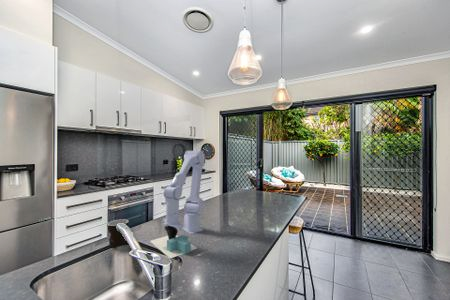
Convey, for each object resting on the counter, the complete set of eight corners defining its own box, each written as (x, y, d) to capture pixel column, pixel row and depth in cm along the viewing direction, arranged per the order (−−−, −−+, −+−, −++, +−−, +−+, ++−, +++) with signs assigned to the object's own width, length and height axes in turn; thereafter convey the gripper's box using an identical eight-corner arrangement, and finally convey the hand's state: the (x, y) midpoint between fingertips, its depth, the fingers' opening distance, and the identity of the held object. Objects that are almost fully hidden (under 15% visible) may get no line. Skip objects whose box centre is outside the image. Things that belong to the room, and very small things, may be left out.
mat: (149, 241, 92) (149, 240, 92) (174, 234, 101) (174, 233, 101) (170, 260, 76) (170, 258, 76) (198, 249, 85) (198, 248, 85)
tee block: (166, 249, 84) (166, 240, 84) (184, 242, 90) (184, 234, 91) (178, 257, 78) (178, 247, 78) (196, 249, 84) (196, 240, 84)
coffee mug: (108, 241, 92) (109, 220, 92) (129, 239, 95) (129, 218, 95) (103, 253, 81) (103, 229, 81) (125, 249, 84) (126, 226, 84)
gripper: (157, 210, 92) (157, 239, 92) (172, 217, 82) (171, 250, 81) (171, 207, 97) (170, 235, 97) (186, 214, 86) (186, 245, 86)
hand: (172, 241), depth 89 cm, fingers closed
